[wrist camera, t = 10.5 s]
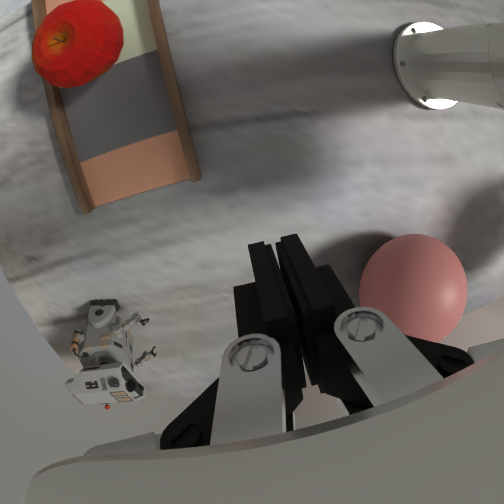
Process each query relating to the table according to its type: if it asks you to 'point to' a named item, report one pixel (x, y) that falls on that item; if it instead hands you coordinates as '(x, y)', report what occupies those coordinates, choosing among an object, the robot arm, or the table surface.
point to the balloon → (416, 286)
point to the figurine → (106, 358)
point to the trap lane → (124, 114)
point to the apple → (77, 43)
